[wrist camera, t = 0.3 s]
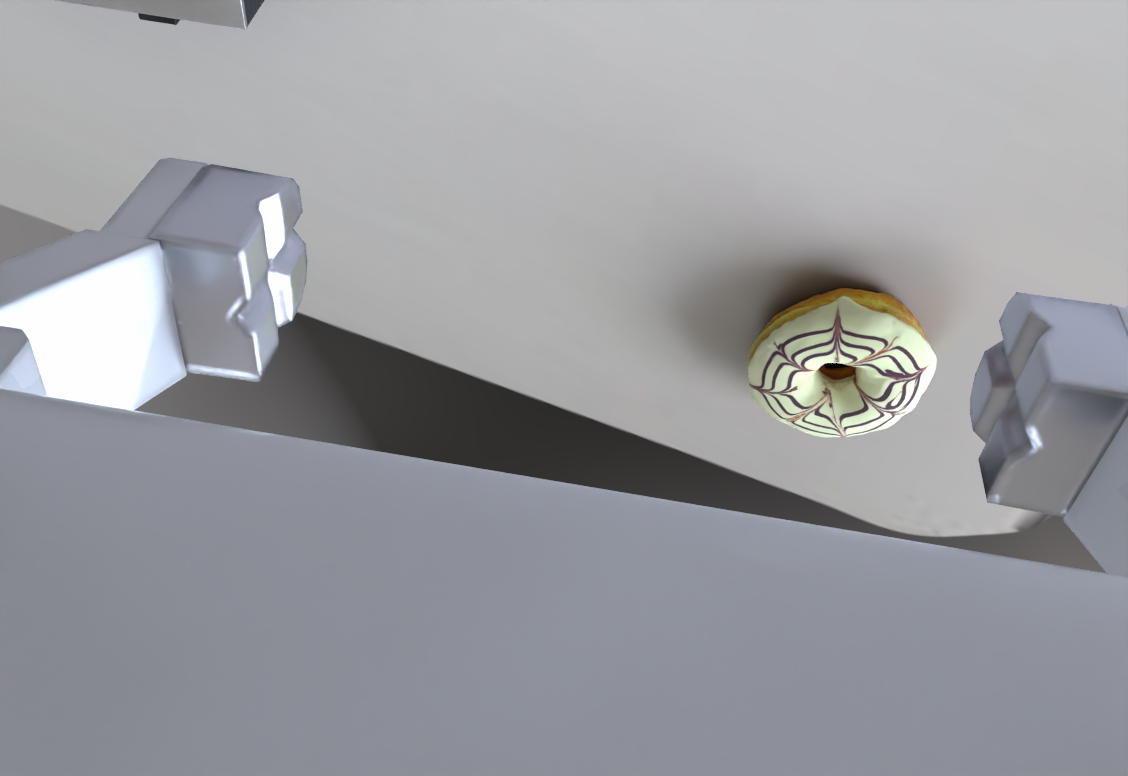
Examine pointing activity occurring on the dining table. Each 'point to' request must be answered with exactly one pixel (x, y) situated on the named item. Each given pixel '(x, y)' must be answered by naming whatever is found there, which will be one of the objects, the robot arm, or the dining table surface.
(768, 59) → the dining table surface
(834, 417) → the decorated donut
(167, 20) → the glossy black box
